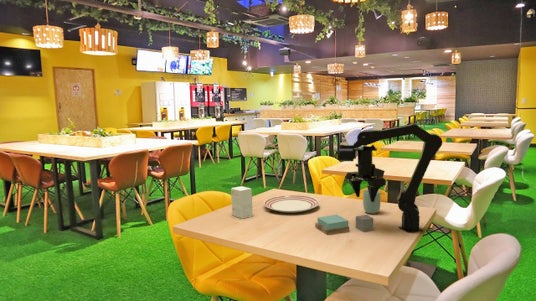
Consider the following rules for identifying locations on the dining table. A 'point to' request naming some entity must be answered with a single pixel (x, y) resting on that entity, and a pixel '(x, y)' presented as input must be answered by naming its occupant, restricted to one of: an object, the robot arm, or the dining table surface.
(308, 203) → the dinner plate
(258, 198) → the dining table surface
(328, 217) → the tower top
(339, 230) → the tower bottom
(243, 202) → the small box
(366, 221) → the grey cube
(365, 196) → the cup
